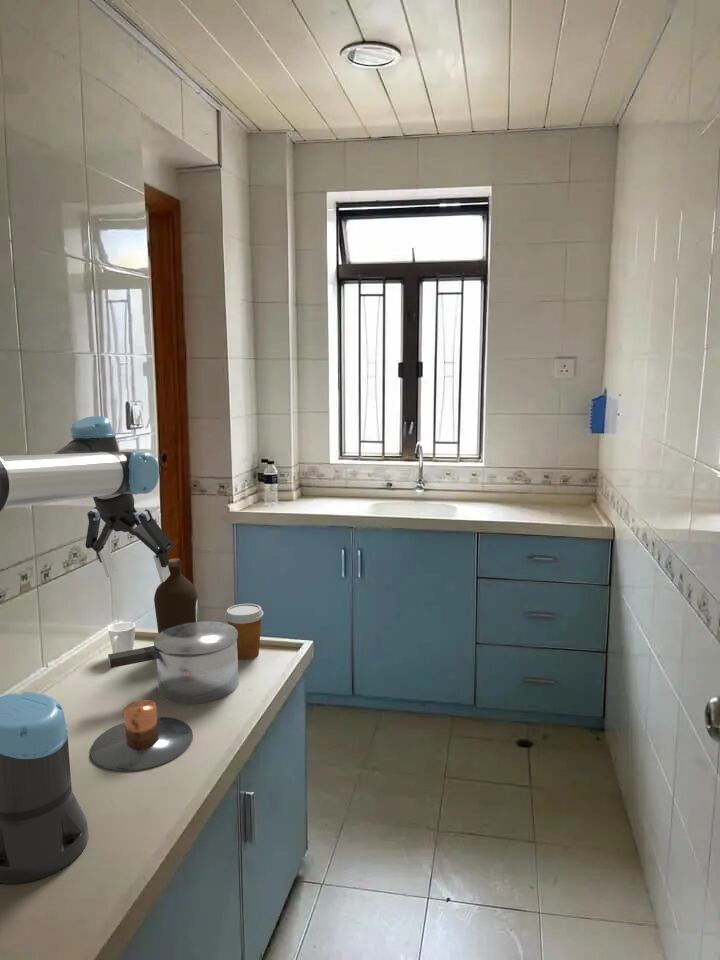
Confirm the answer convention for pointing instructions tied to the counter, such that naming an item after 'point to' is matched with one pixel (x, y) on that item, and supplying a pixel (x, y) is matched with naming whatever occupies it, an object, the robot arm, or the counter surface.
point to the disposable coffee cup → (246, 628)
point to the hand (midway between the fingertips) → (138, 576)
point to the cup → (122, 636)
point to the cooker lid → (141, 740)
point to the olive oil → (175, 599)
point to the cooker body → (190, 661)
